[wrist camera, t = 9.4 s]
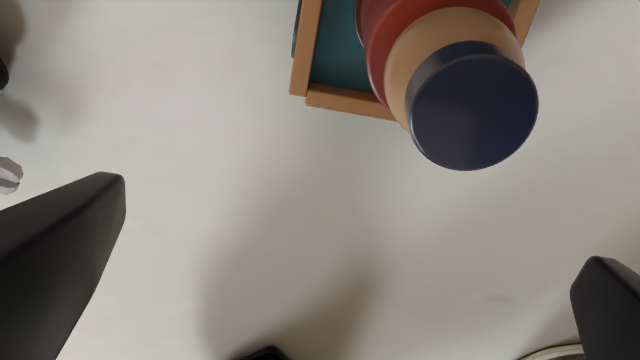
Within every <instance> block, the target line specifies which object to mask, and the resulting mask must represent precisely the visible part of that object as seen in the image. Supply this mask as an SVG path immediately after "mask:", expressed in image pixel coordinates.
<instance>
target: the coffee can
mask: <svg viewBox="0 0 640 360" xmlns="http://www.w3.org/2000/svg"><path fill="white" fill-rule="evenodd" d="M521 360H585V356H584V352H583V348H582V344H572V345H566V346H558V347H554V348H549V349H545V350H542V351H539V352H537V353H534V354H531V355H529V356H526V357H524V358H522V359H521Z"/></svg>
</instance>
